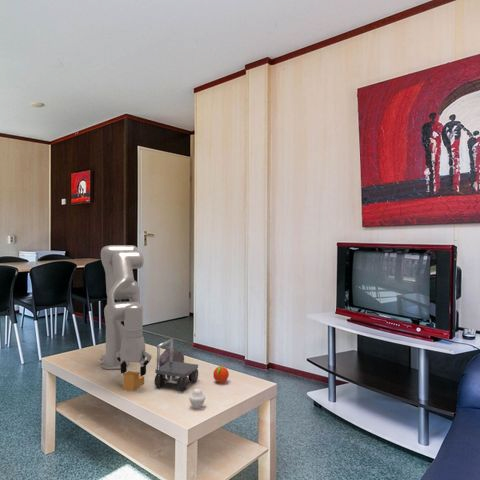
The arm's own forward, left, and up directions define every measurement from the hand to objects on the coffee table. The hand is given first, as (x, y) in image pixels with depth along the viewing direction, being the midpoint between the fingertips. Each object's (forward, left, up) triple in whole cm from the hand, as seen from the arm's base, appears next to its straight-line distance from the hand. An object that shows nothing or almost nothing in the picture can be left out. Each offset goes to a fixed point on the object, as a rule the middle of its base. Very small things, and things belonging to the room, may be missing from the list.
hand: (133, 374), depth 164 cm
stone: (+1, +31, -6) cm, 32 cm away
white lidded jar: (+33, -6, -6) cm, 35 cm away
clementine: (+32, +20, -6) cm, 38 cm away
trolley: (+15, +11, -6) cm, 20 cm away
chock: (-1, +2, -6) cm, 6 cm away
